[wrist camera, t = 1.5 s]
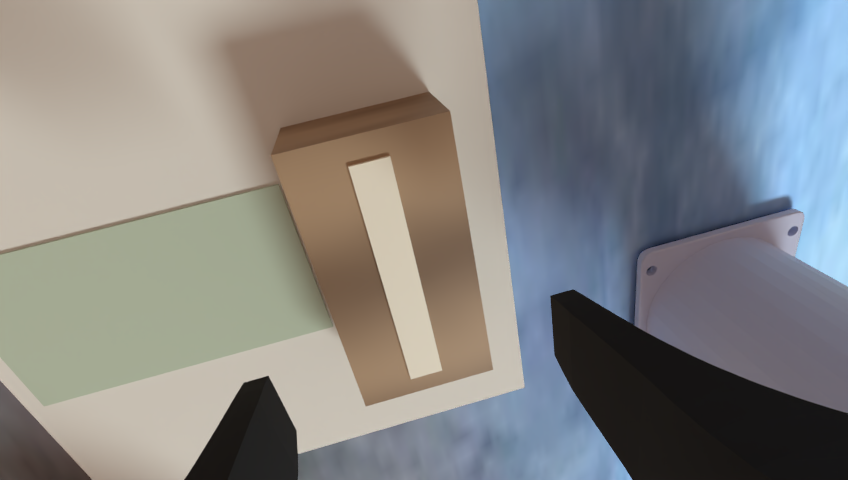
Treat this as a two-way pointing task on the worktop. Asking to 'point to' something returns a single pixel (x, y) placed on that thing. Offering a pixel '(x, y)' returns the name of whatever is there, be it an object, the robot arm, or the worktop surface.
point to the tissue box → (389, 242)
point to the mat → (208, 214)
